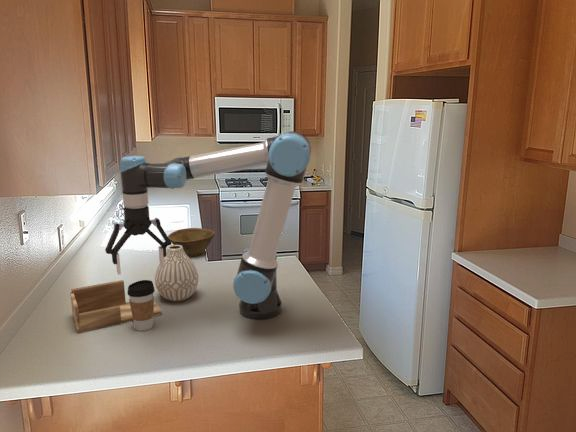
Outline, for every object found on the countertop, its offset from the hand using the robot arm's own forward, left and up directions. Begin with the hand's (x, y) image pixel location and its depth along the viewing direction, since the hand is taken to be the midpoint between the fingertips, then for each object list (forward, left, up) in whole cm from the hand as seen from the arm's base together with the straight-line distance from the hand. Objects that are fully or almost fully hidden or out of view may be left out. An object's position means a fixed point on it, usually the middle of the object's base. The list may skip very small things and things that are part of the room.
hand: (140, 269), depth 151 cm
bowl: (+64, -38, -19) cm, 77 cm away
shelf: (+11, +7, -19) cm, 23 cm away
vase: (+16, -16, -19) cm, 30 cm away
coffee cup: (-2, +1, -19) cm, 20 cm away
